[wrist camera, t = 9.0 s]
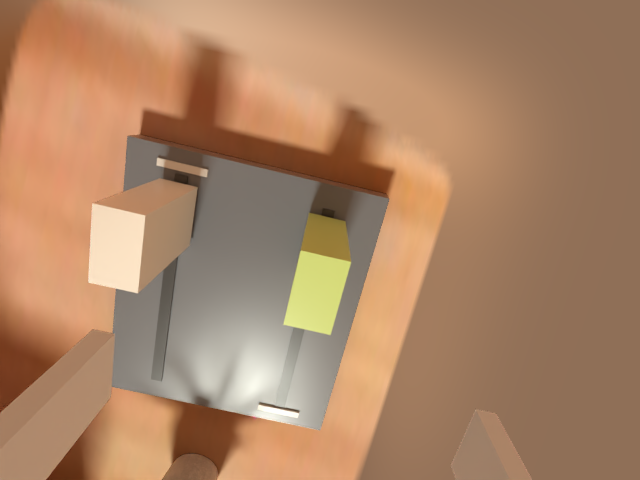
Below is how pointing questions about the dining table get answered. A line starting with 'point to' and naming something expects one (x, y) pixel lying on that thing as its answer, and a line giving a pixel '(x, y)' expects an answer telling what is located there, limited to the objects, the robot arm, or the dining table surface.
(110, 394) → the robot arm
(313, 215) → the fader lime
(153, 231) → the fader cream
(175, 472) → the house plant
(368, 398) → the dining table surface
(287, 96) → the dining table surface
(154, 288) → the mixing board
